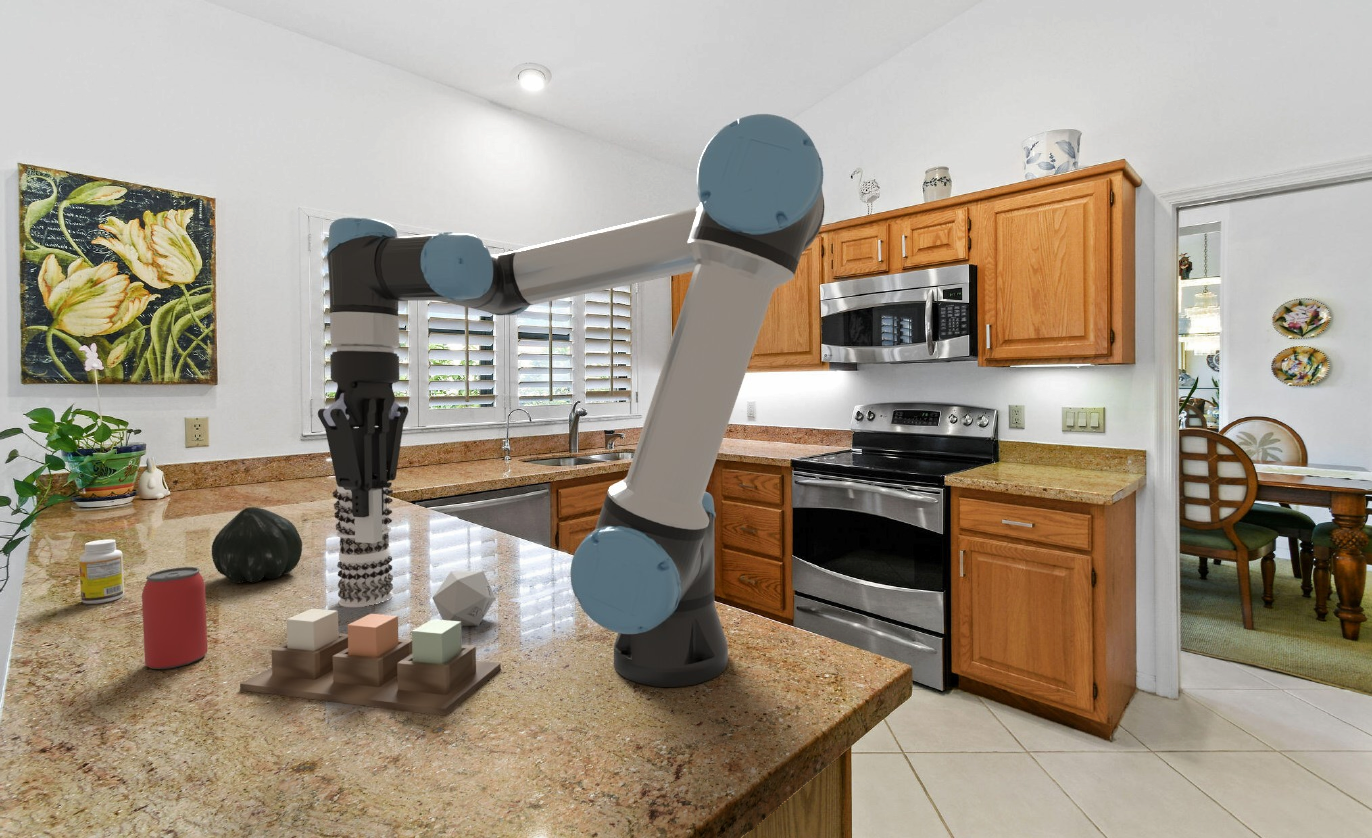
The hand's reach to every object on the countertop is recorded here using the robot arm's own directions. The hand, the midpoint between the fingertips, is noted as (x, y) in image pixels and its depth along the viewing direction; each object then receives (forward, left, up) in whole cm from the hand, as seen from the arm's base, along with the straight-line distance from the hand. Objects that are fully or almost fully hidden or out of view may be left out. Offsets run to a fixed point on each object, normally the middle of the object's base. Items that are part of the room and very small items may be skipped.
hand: (368, 541), depth 78 cm
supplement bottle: (+68, -16, -18) cm, 72 cm away
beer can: (+30, +1, -18) cm, 35 cm away
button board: (0, 0, -18) cm, 18 cm away
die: (0, -20, -18) cm, 27 cm away
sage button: (-9, 0, -14) cm, 17 cm away
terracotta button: (0, 0, -14) cm, 14 cm away
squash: (+53, -33, -18) cm, 65 cm away
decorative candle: (+23, -26, -18) cm, 39 cm away
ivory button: (+9, 0, -14) cm, 16 cm away
